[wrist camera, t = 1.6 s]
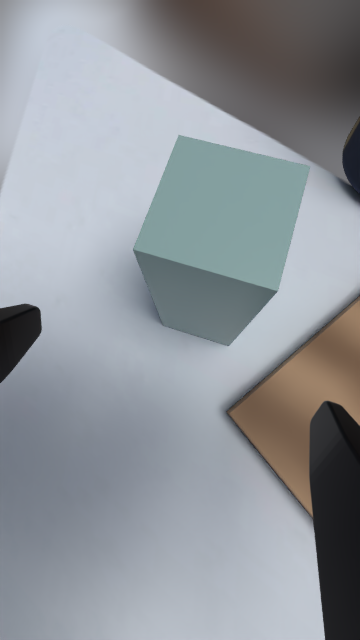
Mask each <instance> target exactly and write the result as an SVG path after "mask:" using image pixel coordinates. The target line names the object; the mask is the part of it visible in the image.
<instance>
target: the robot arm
mask: <svg viewBox="0 0 360 640" xmlns="http://www.w3.org/2000/svg"><path fill="white" fill-rule="evenodd" d="M41 330H42V326H41V313H40V309H39V308H38V307H36V306H33V305H30V304H21V305H16V306H11V307H6V308H0V383H1V382H2V381H3V380H4V379H5V378H6V377H7V376H8V375H9V373H10V372H11V371H12V370H13V369H14V368H15V366H16V365H17V364H18V363H19V361H20V360H21V359H22V357H23V356H24V355H25V354H26V352H27V351H28V350H29V348H30V347H31V346H32V344H33V343H34V342H35V341H36V339H37V338H38V337H39V335H40V333H41ZM309 481H310V492H311V502H312V512H313V522H314V532H315V542H316V552H317V562H318V572H319V582H320V592H321V602H322V612H323V622H324V632H325V640H360V425H359V424H358V423H357V422H356V421H355V420H354V419H353V418H352V416H351V415H350V414H349V413H348V412H347V411H346V410H345V409H344V407H343V406H342V405H340V404H338V403H334V402H331V401H328V400H327V401H324V402H323V403H322V404H321V406H320V407H319V408H318V410H317V411H316V413H315V414H314V416H313V417H312V419H311V422H310V441H309Z"/></svg>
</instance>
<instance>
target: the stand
mask: <svg viewBox="0 0 360 640" xmlns="http://www.w3.org/2000/svg"><path fill="white" fill-rule="evenodd" d="M327 400H328V401H331V402H334V403H338V404H340V405H342V406H343V407H344V409H345V410H346V411H347V412H348V413H349V414H350V415H351V416H352V418H353V419H354V420H355V421H356V422H357V423H358V424H359V425H360V296H359V297H358V298H357V299H356V300H355V301H353V302H352V303H351V304H350V305H349V306H348V307H346V308H345V309H344V310H343V311H342V312H341V313H340V314H338V315H337V316H336V317H335V318H334V319H333V320H331V321H330V322H329V323H328V324H327V325H326V326H325V327H323V328H322V329H321V330H320V331H319V332H318V333H317V334H315V335H314V336H313V337H312V338H311V339H310V340H308V341H307V342H306V343H305V344H304V345H303V346H302V347H300V348H299V349H298V350H297V351H296V352H295V353H293V354H292V355H291V356H290V357H289V358H288V359H287V360H285V361H284V362H283V363H282V364H281V365H280V366H278V367H277V368H276V369H275V370H274V371H273V372H272V373H270V374H269V375H268V376H267V377H266V378H265V379H264V380H262V381H261V382H260V383H259V384H258V385H257V386H255V387H254V388H253V389H252V390H251V391H250V392H249V393H247V394H246V395H245V396H244V397H243V398H242V399H240V400H239V401H238V402H237V403H236V404H235V405H234V406H232V407H231V408H230V409H229V410H228V411H227V413H228V415H229V416H230V417H231V418H232V420H233V421H234V422H235V423H236V424H237V426H238V427H239V428H240V429H241V431H242V432H243V433H244V434H245V436H246V437H247V438H248V439H249V441H250V442H251V443H252V444H253V445H254V447H255V448H256V449H257V450H258V452H259V453H260V454H261V455H262V457H263V458H264V459H265V460H266V462H267V463H268V464H269V465H270V466H271V468H272V469H273V470H274V471H275V473H276V474H277V475H278V476H279V478H280V479H281V480H282V481H283V483H284V484H285V485H286V486H287V488H288V489H289V490H290V491H291V492H292V494H293V495H294V496H295V497H296V499H297V500H298V501H299V502H300V504H301V505H302V506H303V507H304V509H305V510H306V511H307V512H308V513H309V515H310V516H311V517H312V518H313V512H312V502H311V492H310V481H309V441H310V422H311V419H312V417H313V416H314V414H315V413H316V411H317V410H318V408H319V407H320V406H321V404H322V403H323V402H324V401H327Z"/></svg>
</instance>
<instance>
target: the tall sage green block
mask: <svg viewBox="0 0 360 640" xmlns="http://www.w3.org/2000/svg"><path fill="white" fill-rule="evenodd" d="M309 169H310V166H307V165H303V164H298V163H294V162H290V161H286V160H282V159H277V158H273V157H269V156H265V155H261V154H256V153H252V152H248V151H244V150H240V149H235V148H231V147H227V146H223V145H219V144H214V143H210V142H206V141H202V140H198V139H193V138H189V137H185V136H181V135H179V136H178V138H177V141H176V143H175V146H174V148H173V151H172V153H171V156H170V158H169V161H168V163H167V166H166V168H165V171H164V173H163V176H162V178H161V181H160V183H159V186H158V188H157V191H156V193H155V196H154V198H153V201H152V203H151V206H150V208H149V211H148V213H147V216H146V218H145V221H144V223H143V226H142V228H141V231H140V233H139V236H138V238H137V241H136V243H135V246H134V248H133V251H134V253H135V256H136V258H137V261H138V263H139V266H140V268H141V271H142V273H143V276H144V278H145V281H146V283H147V286H148V288H149V291H150V293H151V296H152V298H153V301H154V304H155V306H156V309H157V311H158V314H159V316H160V319H161V321H162V324H163V326H167V327H170V328H173V329H176V330H179V331H183V332H186V333H189V334H192V335H195V336H198V337H202V338H205V339H208V340H211V341H214V342H218V343H221V344H224V345H227V346H229V345H230V344H231V343H232V342H233V341H234V340H235V339H236V338H237V336H238V335H239V334H240V333H241V332H242V331H243V330H244V329H245V327H246V326H247V325H248V324H249V323H250V322H251V321H252V320H253V318H254V317H255V316H256V315H257V314H258V313H259V312H260V311H261V309H262V308H263V307H264V306H265V305H266V304H267V303H268V302H269V300H270V299H271V298H272V297H273V296H274V295H275V294H276V293H277V291H278V289H279V285H280V281H281V277H282V273H283V269H284V265H285V262H286V258H287V254H288V250H289V246H290V242H291V239H292V235H293V231H294V227H295V223H296V219H297V215H298V212H299V208H300V204H301V200H302V196H303V192H304V188H305V185H306V181H307V177H308V173H309Z"/></svg>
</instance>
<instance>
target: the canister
mask: <svg viewBox="0 0 360 640" xmlns="http://www.w3.org/2000/svg"><path fill="white" fill-rule="evenodd" d="M343 168H344V171H345V174H346V176H347V179H348V180H349V182H350V183H351V185H352V186H353V187H354V188H355V190H356V191H357V192H358V193H359V194H360V117H359V119H358V120H357V122H356V123H355V125H354V127H353V128H352V130H351V132H350V134H349V135H348V137H347V140H346V142H345V145H344V149H343Z"/></svg>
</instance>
